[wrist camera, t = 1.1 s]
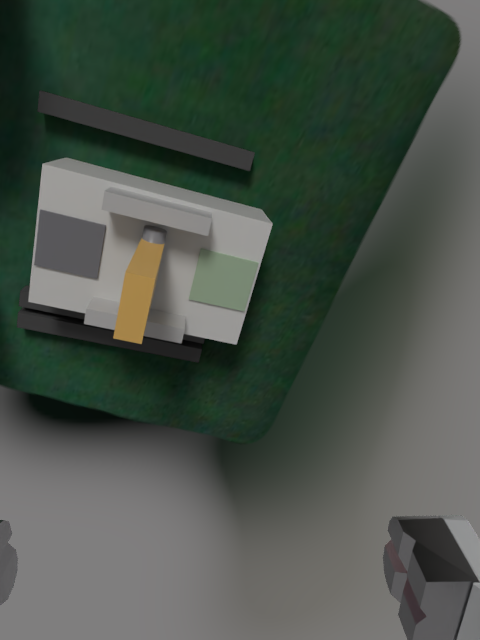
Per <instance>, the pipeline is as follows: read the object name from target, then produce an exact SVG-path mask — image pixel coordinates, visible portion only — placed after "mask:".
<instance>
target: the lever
mask: <svg viewBox="0 0 480 640" xmlns="http://www.w3.org/2000/svg"><path fill="white" fill-rule="evenodd" d="M166 235H167V231H166V230H165V229H162V228H159V227H156V226H150V225H145V226H144V229H143V234H142V238H141V240H140V242H139V244H138V246H137V249H136V251H135V253H134V255H133V257H132V259H131V261H130V263H129V265H128V268H127V270H126V272H125V277H124V282H123V287H122V293H121V298H120V304H119V309H118V315H117V320H116V325H115V331H114V336H113V338H114V339H119V340H124V341H129V342H134V343H139V344H142V340H143V336H144V332H145V328H146V324H147V320H148V316H149V312H150V308H151V305H152V300H153V296H154V291H155V286H156V282H157V277H158V272H159V268H160V263H161V258H162V253H163V249H164V244H165V239H166Z"/></svg>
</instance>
